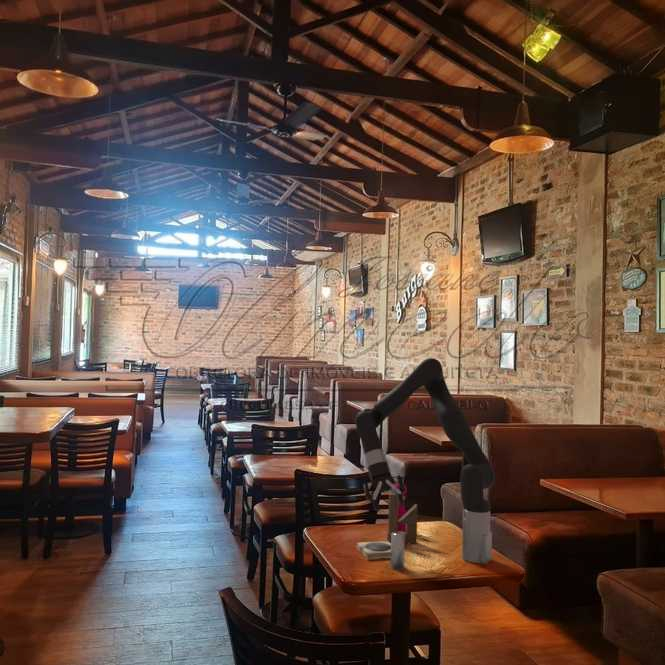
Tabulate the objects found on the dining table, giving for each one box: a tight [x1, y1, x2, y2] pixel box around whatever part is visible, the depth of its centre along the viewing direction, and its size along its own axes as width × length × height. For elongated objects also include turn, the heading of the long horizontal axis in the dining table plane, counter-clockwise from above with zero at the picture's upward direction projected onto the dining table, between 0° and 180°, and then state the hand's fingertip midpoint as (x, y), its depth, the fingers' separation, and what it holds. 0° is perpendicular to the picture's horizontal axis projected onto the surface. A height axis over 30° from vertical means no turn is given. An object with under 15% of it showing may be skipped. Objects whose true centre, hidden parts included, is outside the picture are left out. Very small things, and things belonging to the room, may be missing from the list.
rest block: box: [356, 540, 391, 561], centre depth 210 cm, size 12×12×2 cm
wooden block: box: [386, 492, 418, 545], centre depth 223 cm, size 4×11×18 cm, turn 89°
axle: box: [390, 531, 405, 570], centre depth 197 cm, size 4×4×11 cm
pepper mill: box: [392, 482, 408, 532], centre depth 239 cm, size 7×7×20 cm
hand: (389, 508), depth 208 cm, fingers open, 8 cm apart
